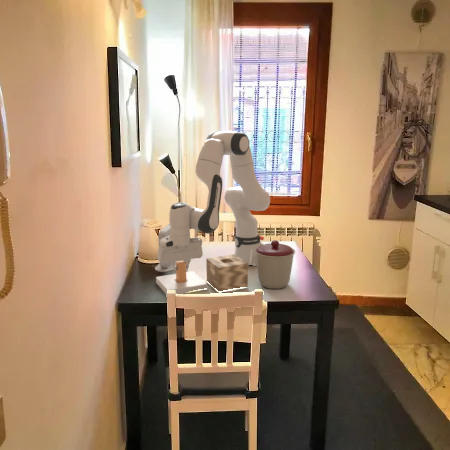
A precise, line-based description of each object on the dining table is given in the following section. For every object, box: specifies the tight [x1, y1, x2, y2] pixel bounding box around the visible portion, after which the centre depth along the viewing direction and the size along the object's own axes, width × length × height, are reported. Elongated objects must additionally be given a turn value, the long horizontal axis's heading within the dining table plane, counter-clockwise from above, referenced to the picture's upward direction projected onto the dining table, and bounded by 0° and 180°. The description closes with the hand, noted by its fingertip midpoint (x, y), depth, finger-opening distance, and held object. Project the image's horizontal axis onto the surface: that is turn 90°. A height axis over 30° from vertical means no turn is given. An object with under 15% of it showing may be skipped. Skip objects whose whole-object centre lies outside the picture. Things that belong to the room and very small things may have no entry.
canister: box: [255, 239, 296, 290], centre depth 208 cm, size 18×18×21 cm
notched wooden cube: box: [205, 253, 249, 291], centre depth 208 cm, size 14×14×12 cm
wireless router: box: [154, 223, 183, 273], centre depth 240 cm, size 31×10×20 cm, turn 168°
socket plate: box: [155, 270, 208, 295], centre depth 208 cm, size 18×18×3 cm
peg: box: [175, 260, 187, 283], centre depth 207 cm, size 4×4×10 cm
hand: (180, 269), depth 207 cm, fingers closed on peg, 4 cm apart
